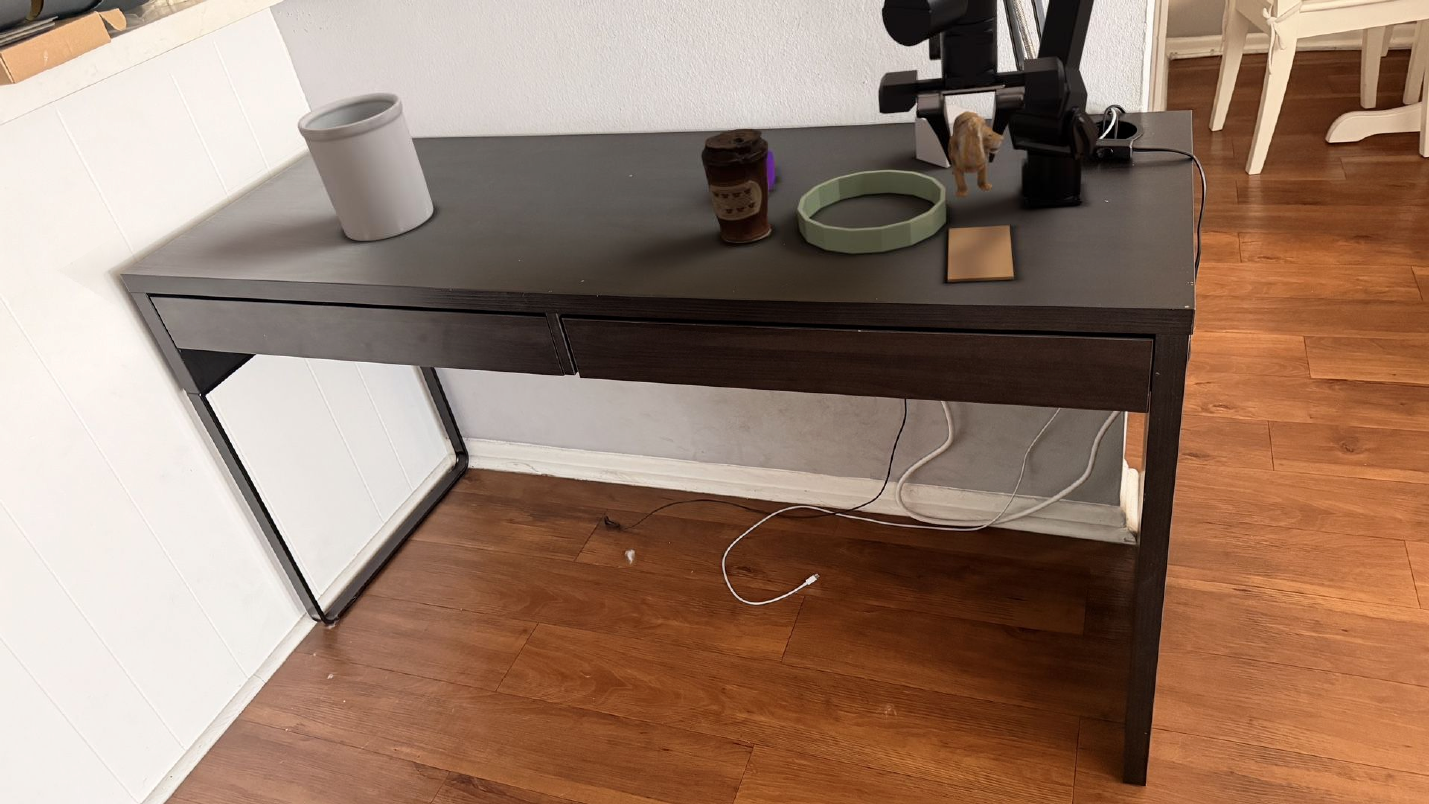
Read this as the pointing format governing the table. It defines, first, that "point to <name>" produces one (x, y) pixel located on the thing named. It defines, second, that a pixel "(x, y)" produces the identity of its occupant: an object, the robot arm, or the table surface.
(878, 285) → the table surface
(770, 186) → the crystal
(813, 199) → the pale green faceted ring
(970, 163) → the lion figurine
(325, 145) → the utensil holder
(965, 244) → the cork mat
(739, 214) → the coffee cup
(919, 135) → the white cube
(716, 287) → the table surface
